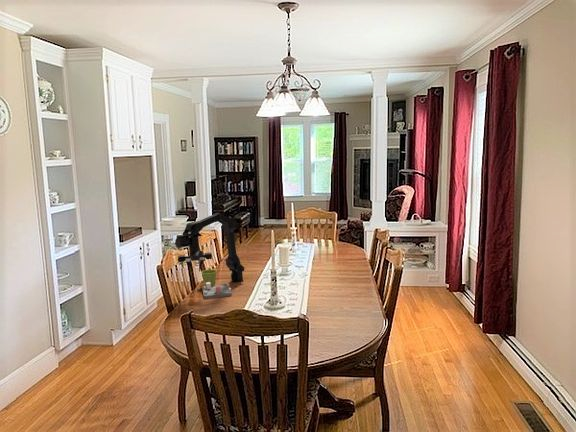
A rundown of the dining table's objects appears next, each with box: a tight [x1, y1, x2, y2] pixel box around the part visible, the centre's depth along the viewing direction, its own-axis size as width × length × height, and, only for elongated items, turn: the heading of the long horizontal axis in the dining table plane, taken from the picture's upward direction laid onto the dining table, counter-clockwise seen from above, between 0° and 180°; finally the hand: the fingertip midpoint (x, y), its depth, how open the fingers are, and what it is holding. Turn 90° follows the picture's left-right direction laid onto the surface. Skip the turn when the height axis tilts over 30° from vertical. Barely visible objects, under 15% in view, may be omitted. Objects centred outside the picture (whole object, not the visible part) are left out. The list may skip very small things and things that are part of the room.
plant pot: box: [200, 269, 218, 286], centre depth 271 cm, size 9×9×9 cm
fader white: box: [206, 282, 211, 289], centre depth 260 cm, size 2×4×3 cm, turn 14°
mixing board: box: [201, 283, 233, 300], centre depth 257 cm, size 15×18×3 cm
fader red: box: [215, 284, 221, 293], centre depth 253 cm, size 2×4×3 cm, turn 14°
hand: (196, 272), depth 258 cm, fingers open, 4 cm apart
